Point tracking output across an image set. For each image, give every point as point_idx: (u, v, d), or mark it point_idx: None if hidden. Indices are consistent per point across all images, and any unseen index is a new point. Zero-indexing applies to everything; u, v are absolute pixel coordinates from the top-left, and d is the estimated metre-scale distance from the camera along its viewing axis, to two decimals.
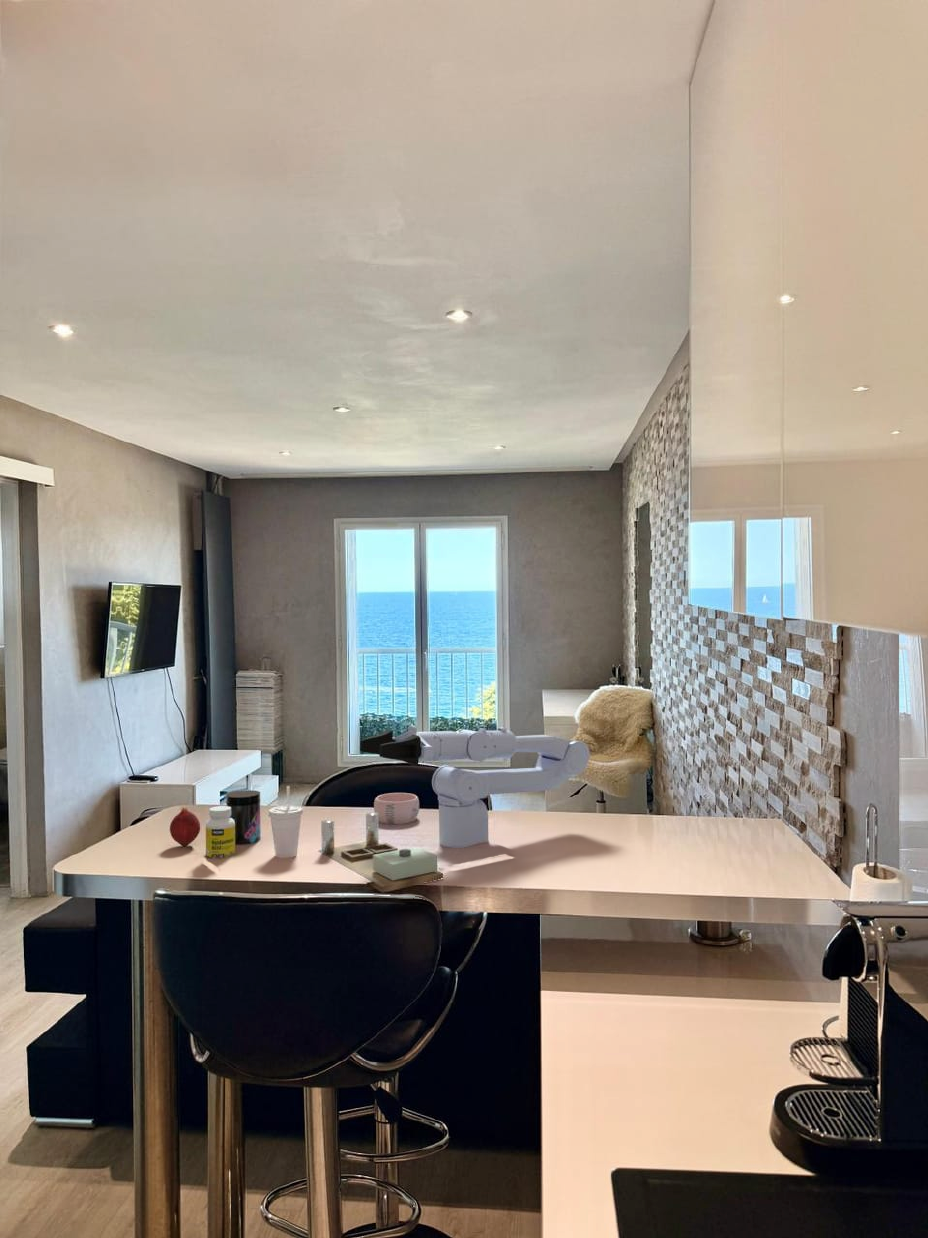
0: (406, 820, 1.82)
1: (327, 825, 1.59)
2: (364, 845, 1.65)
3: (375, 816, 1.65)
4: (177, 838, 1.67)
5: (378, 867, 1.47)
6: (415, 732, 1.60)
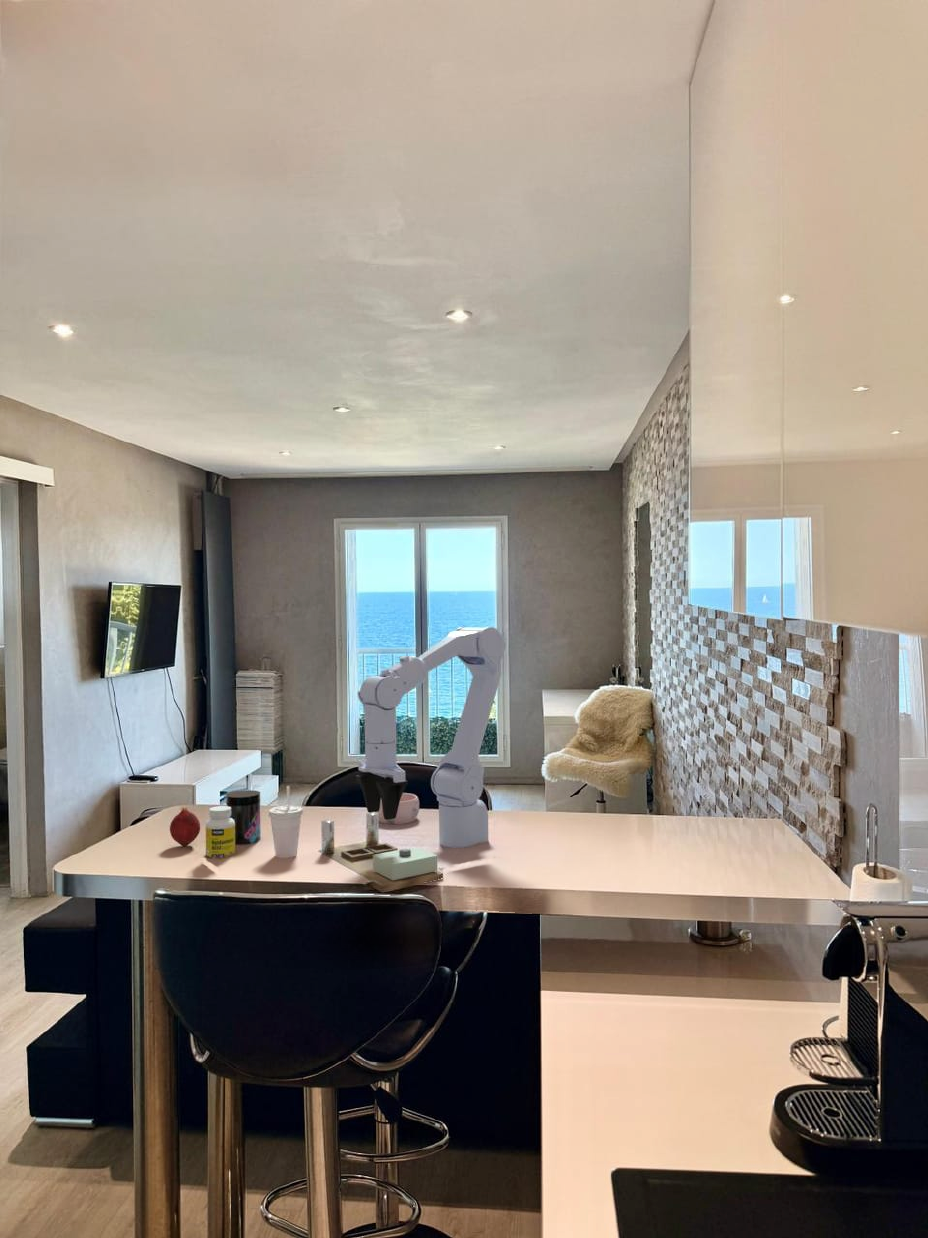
0: (406, 820, 1.82)
1: (327, 825, 1.59)
2: (364, 845, 1.65)
3: (375, 816, 1.65)
4: (177, 838, 1.67)
5: (378, 867, 1.47)
6: (370, 770, 1.52)
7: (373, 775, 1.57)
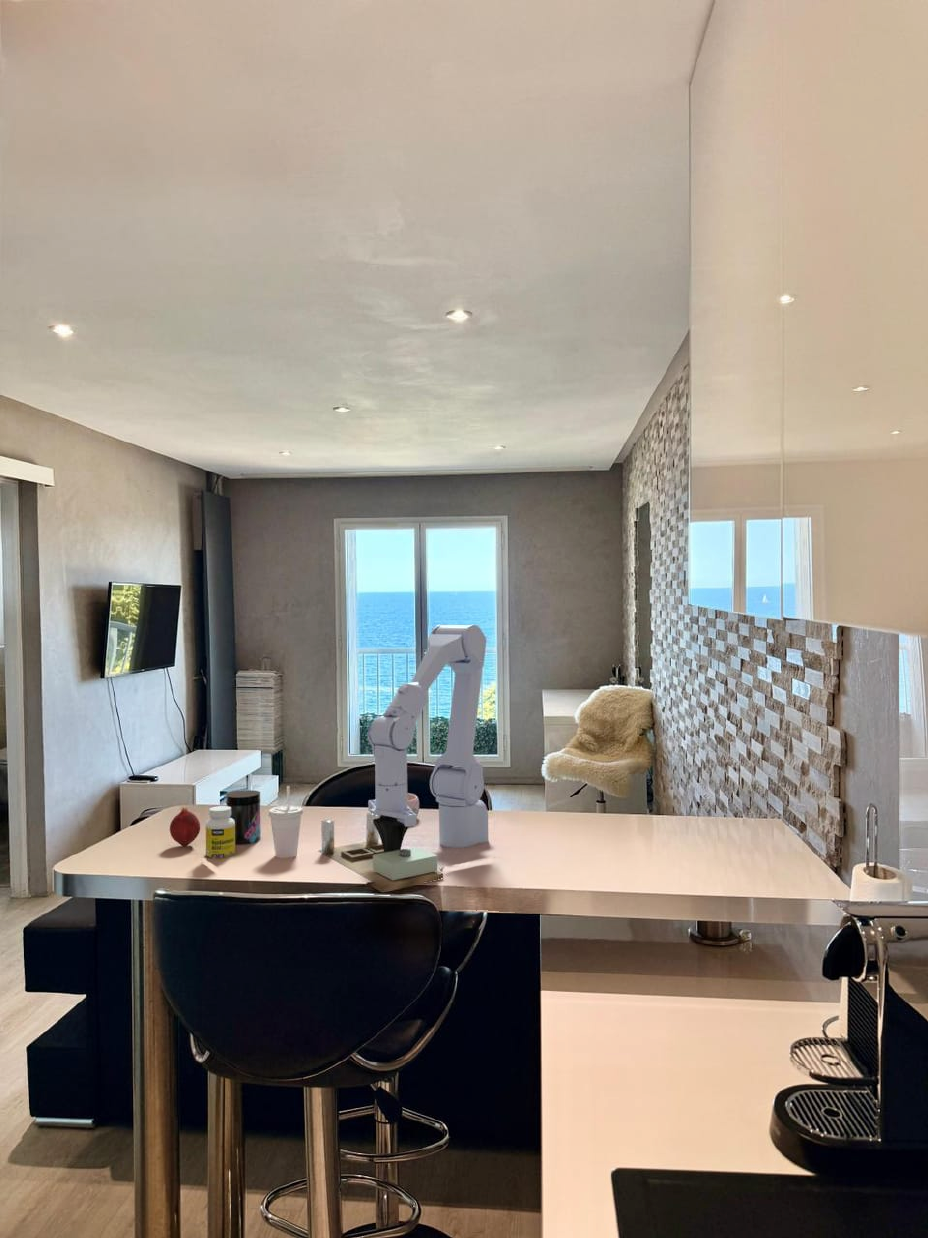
0: None
1: (327, 824, 1.59)
2: (364, 845, 1.65)
3: (376, 815, 1.65)
4: (177, 838, 1.67)
5: (378, 867, 1.47)
6: (380, 812, 1.49)
7: None
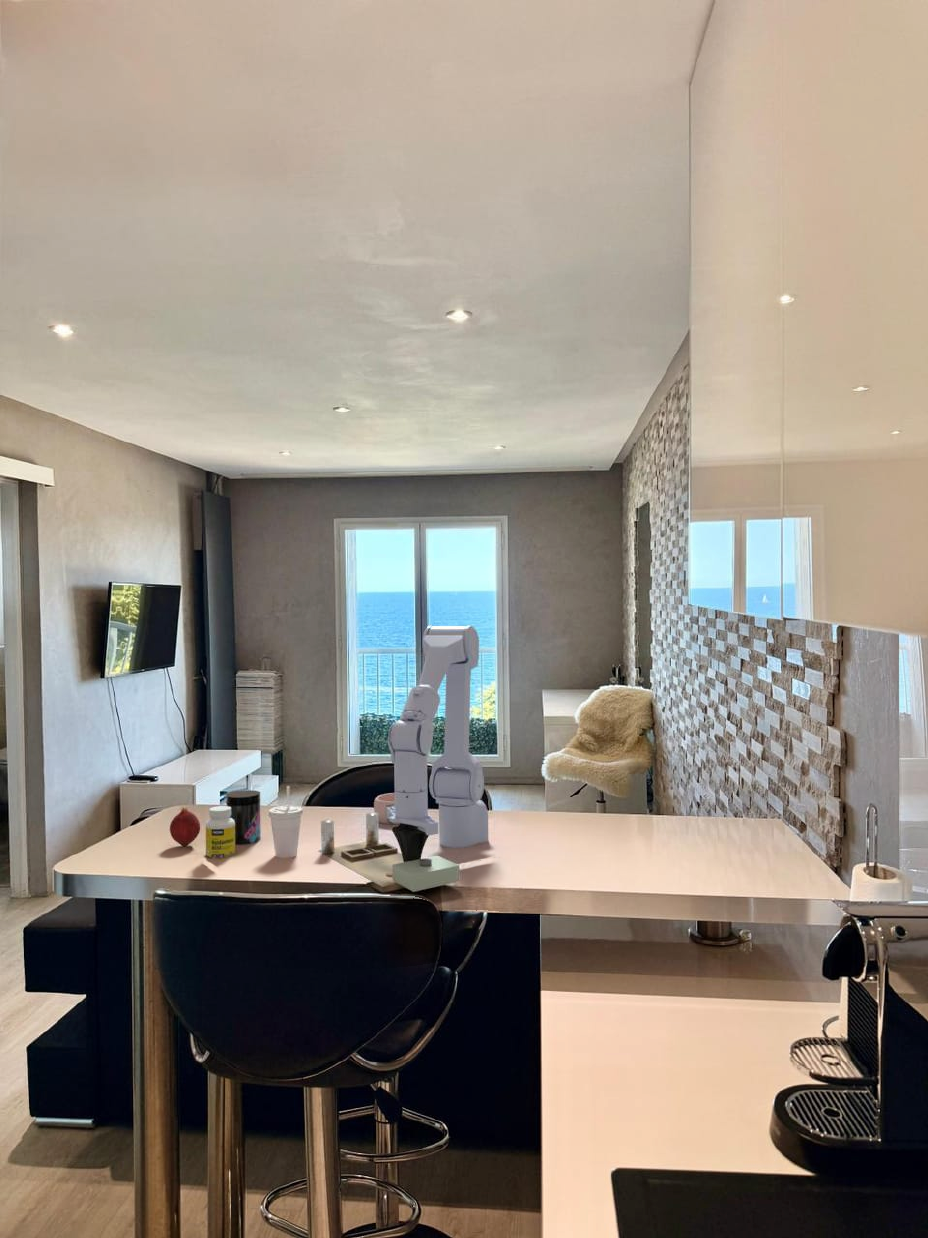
0: None
1: (326, 824, 1.59)
2: (364, 845, 1.65)
3: (376, 816, 1.64)
4: (177, 838, 1.67)
5: (398, 877, 1.41)
6: (400, 820, 1.43)
7: None
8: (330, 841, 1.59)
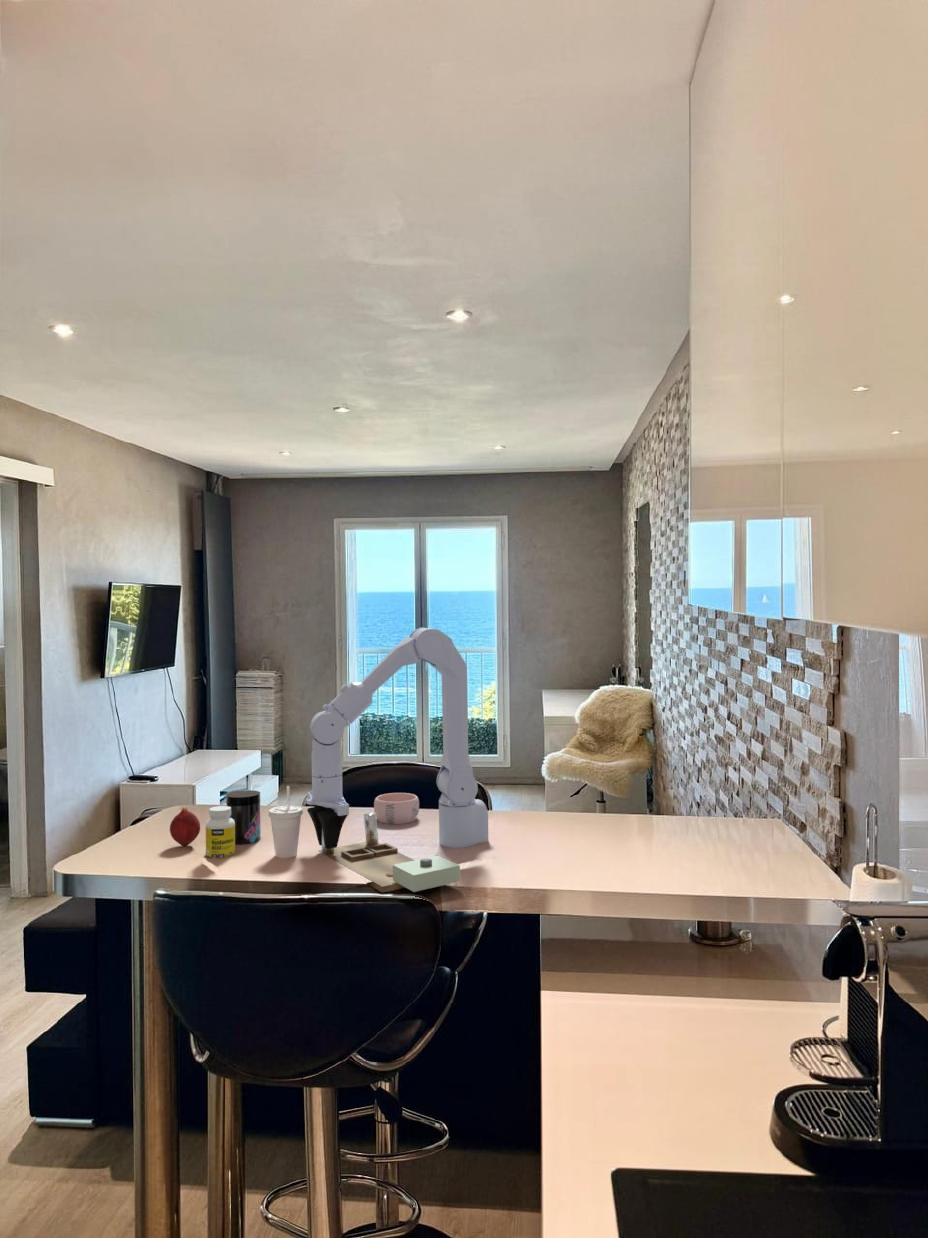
0: (406, 820, 1.82)
1: None
2: (364, 845, 1.65)
3: (375, 815, 1.65)
4: (177, 838, 1.67)
5: (398, 878, 1.41)
6: (315, 803, 1.58)
7: (324, 808, 1.61)
8: None
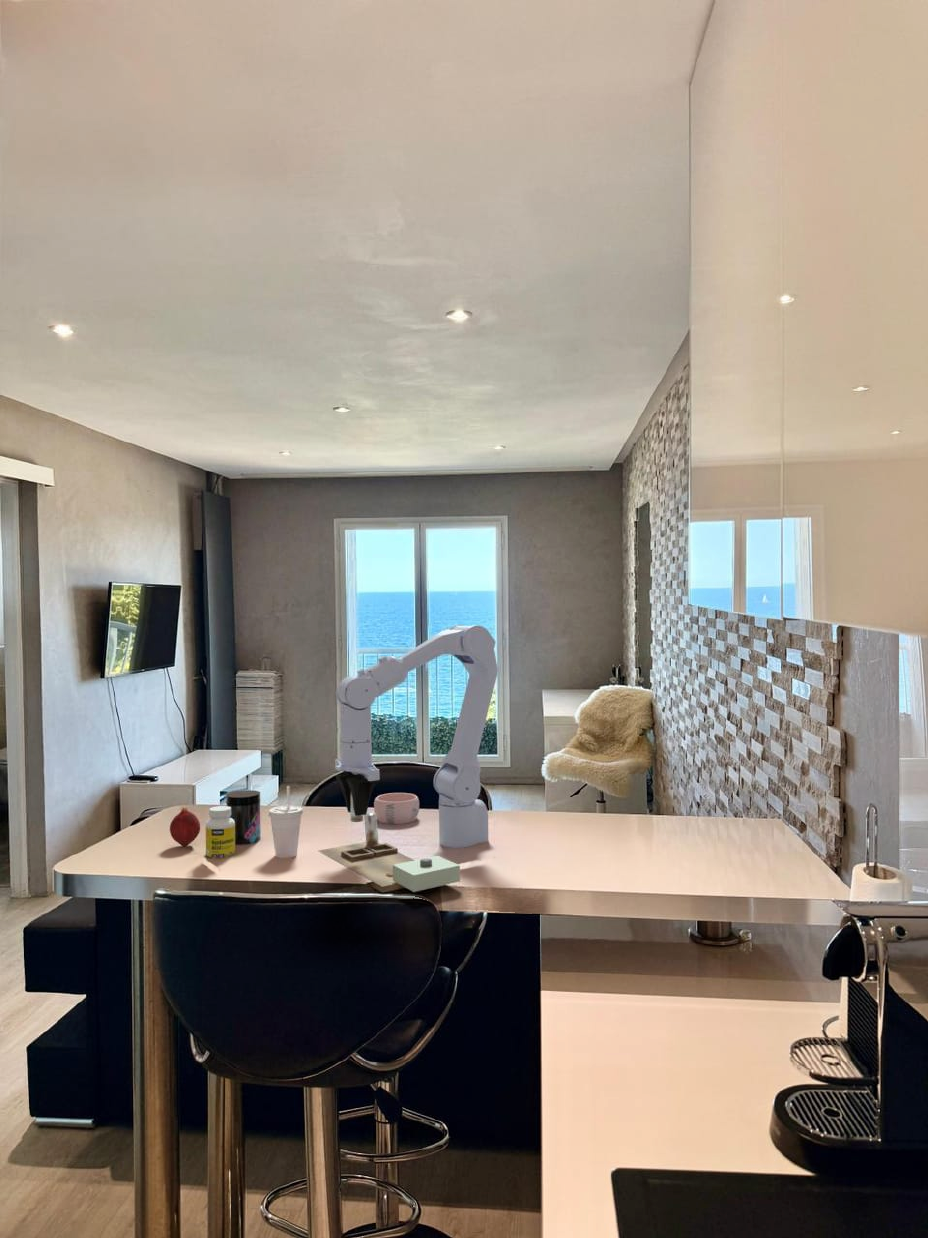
0: (406, 820, 1.82)
1: None
2: (364, 845, 1.65)
3: (375, 815, 1.65)
4: (177, 838, 1.67)
5: (398, 878, 1.41)
6: (345, 769, 1.55)
7: (353, 775, 1.59)
8: None
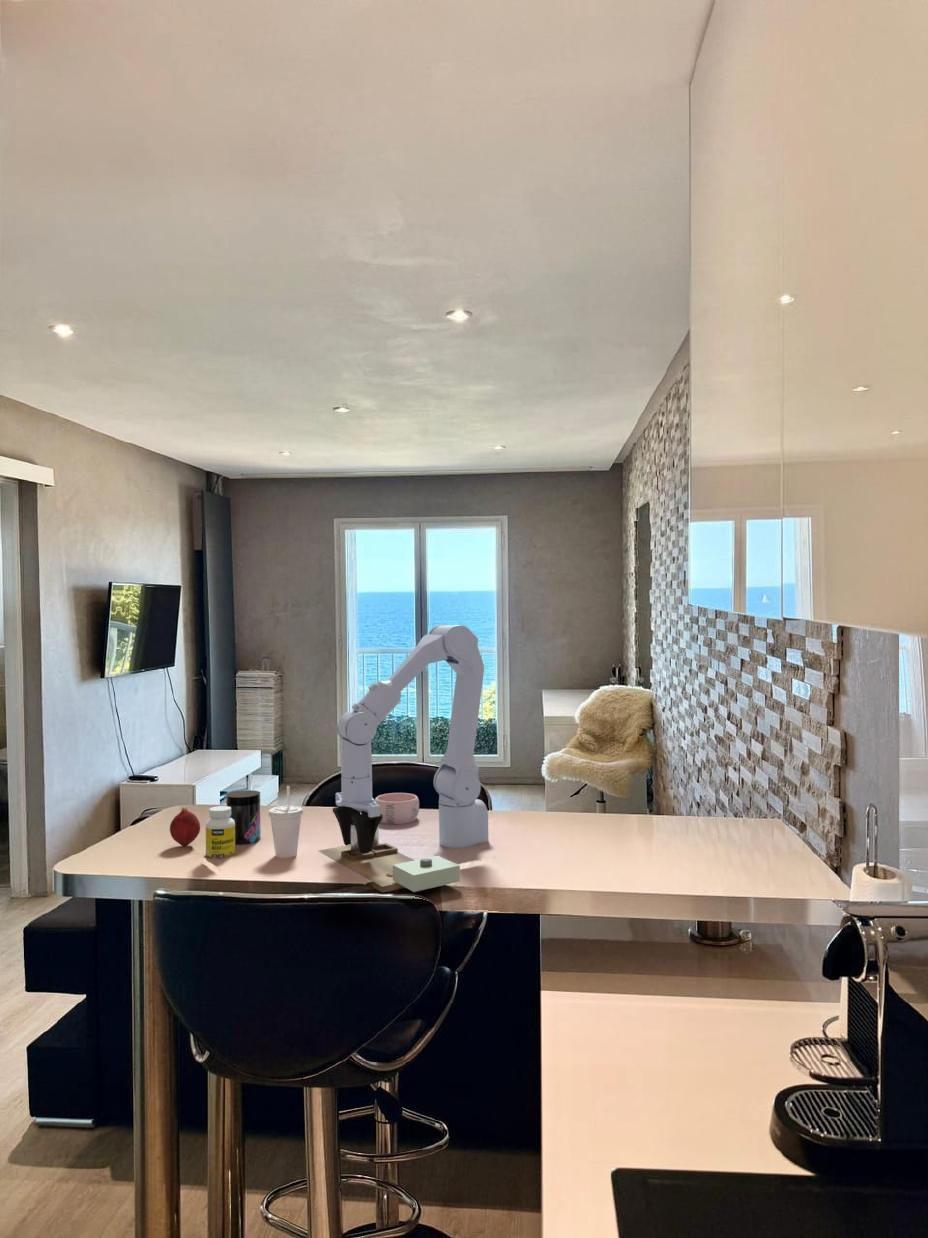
0: (406, 820, 1.82)
1: None
2: None
3: None
4: (177, 838, 1.67)
5: (398, 878, 1.41)
6: (345, 804, 1.55)
7: (350, 808, 1.60)
8: None
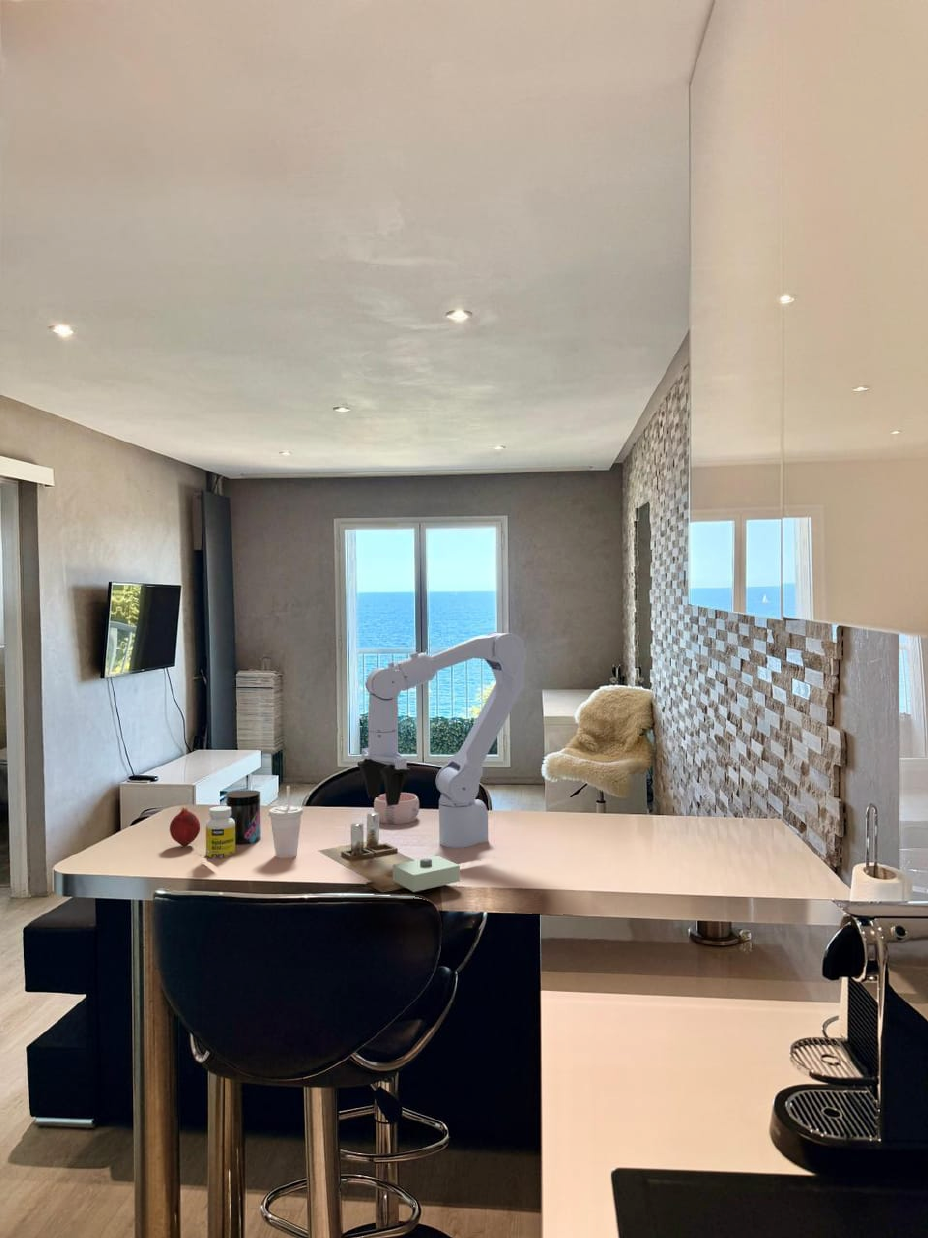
0: (406, 820, 1.82)
1: (356, 828, 1.56)
2: (364, 845, 1.65)
3: None
4: (177, 838, 1.67)
5: (398, 878, 1.41)
6: (372, 757, 1.59)
7: (374, 762, 1.65)
8: (359, 845, 1.57)
